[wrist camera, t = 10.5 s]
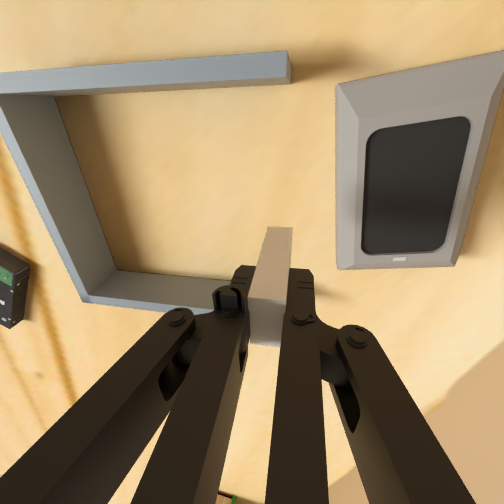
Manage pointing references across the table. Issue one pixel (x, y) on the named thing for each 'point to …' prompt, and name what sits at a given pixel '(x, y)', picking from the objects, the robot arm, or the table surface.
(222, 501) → the hardback book
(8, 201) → the table surface
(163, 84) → the open u-shaped frame
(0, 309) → the disk drive
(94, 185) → the table surface
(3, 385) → the table surface
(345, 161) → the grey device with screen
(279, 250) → the robot arm
